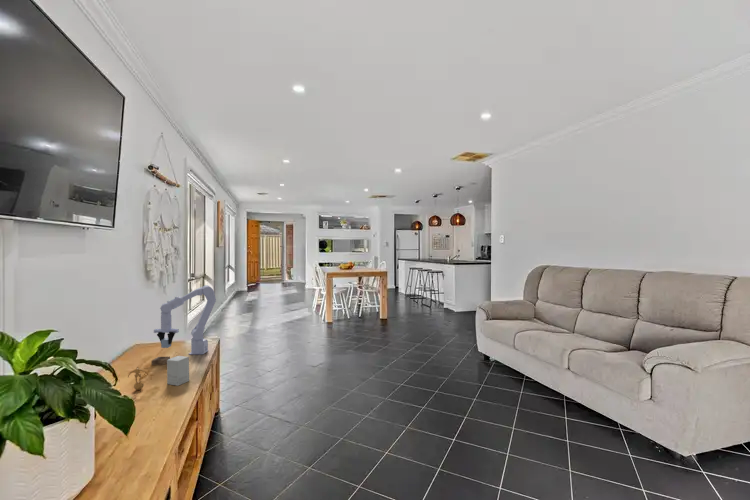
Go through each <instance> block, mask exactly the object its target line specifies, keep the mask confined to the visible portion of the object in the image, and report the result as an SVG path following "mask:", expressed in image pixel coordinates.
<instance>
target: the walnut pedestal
mask: <svg viewBox="0 0 750 500" xmlns="http://www.w3.org/2000/svg"><path fill="white" fill-rule="evenodd" d="M168 359H171V356H157V357H155V358H154V359H152V360H151V366H164V365H167V360H168Z"/></svg>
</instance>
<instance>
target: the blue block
mask: <svg viewBox="0 0 750 500" xmlns="http://www.w3.org/2000/svg"><path fill="white" fill-rule="evenodd" d="M160 345H161V347H160V348H161V349H169V348H170V347H172V344H169V343H168V337H164V339H162V340H161V342H160Z"/></svg>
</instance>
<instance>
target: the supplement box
mask: <svg viewBox="0 0 750 500" xmlns="http://www.w3.org/2000/svg"><path fill="white" fill-rule="evenodd" d="M166 375H167V376H166V379H167V380H166V381H167V382H166V384H167V385H171V386H177V387H179V386H180V385H183V384H185V383H188V382H189V381H190V357H189V356H183V355H177V356H173V357H170V359H168V360H167V363H166Z"/></svg>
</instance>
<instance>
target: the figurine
mask: <svg viewBox="0 0 750 500" xmlns="http://www.w3.org/2000/svg"><path fill="white" fill-rule="evenodd" d="M141 372H143V373H145V374H146V375H147V376H148V375H149V374H148V372H147V371H146V370H143V369H140V367H139V366H136V367H135V369H133V370H132V371H129V373H128V375H127V378H130V375H131V374H132V373H135V374H134V378H135V383H134V384H133V388H134V390H135V391H140V390H142V389H143V387H144V385H145V384H144V382H143V381H141V380H142V374H141ZM138 379H139V381H138Z"/></svg>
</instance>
